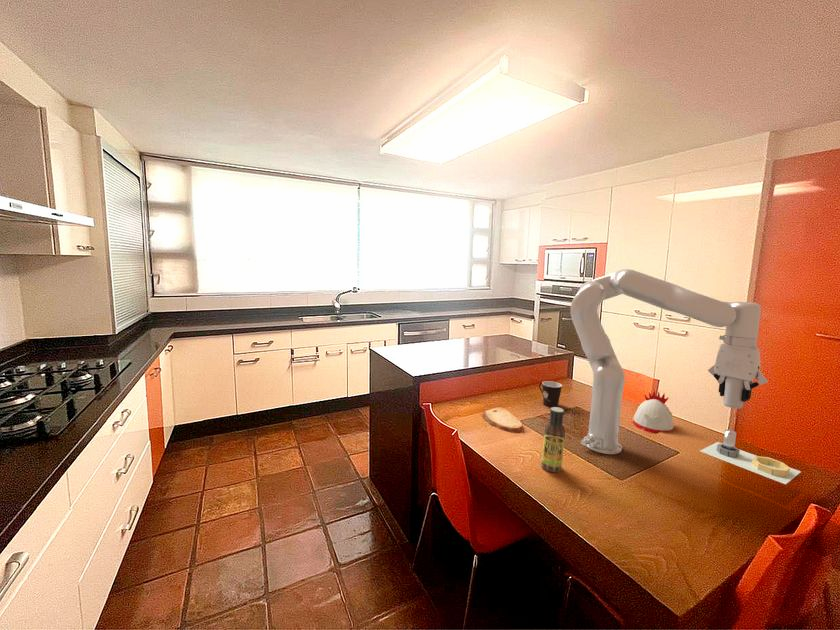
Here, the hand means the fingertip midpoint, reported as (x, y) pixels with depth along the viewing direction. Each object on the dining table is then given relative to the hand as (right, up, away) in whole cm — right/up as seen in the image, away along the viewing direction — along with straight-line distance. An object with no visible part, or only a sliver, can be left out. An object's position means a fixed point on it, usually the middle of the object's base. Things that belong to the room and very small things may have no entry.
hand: (733, 397), depth 114 cm
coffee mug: (-38, -16, +56) cm, 70 cm away
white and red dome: (-4, -20, +34) cm, 39 cm away
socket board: (+10, -24, +6) cm, 26 cm away
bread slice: (-65, -19, +36) cm, 77 cm away
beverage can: (0, -3, 0) cm, 3 cm away
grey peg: (+7, -22, +11) cm, 25 cm away
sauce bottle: (-57, -23, +2) cm, 62 cm away
